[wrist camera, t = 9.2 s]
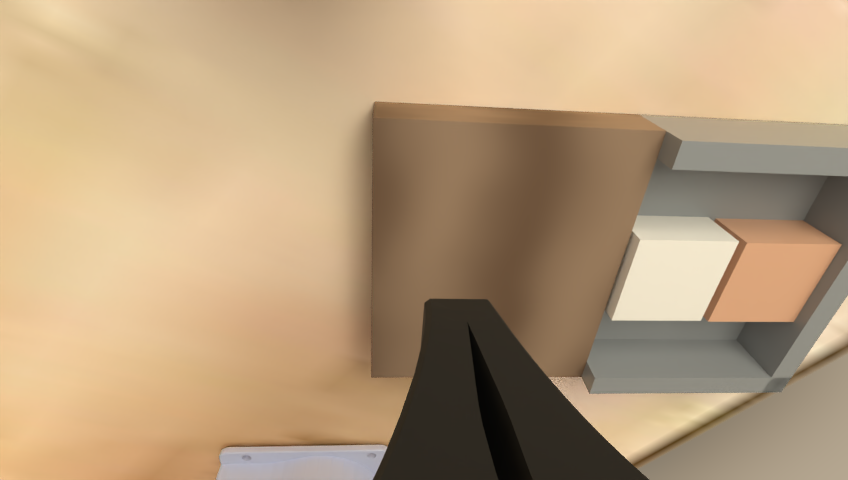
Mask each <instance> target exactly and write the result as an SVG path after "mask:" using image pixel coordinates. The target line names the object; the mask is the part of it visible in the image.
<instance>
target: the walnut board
mask: <svg viewBox="0 0 848 480" xmlns="http://www.w3.org/2000/svg"><path fill="white" fill-rule="evenodd" d="M665 134H666V130H664V129H662V128H661V127H659V126H657V125H656V124H654V123H652V122H651V121H649V120H647V119H646V118H644V117H642V116H641V115H635V114H614V113H594V112H573V111H553V110H533V109H512V108H492V107H471V106H451V105H430V104H410V103H389V102H375V105H374V113H373V196H372V349H371V377H413V376H414V373H415V369H416V365H417V361H418V357H419V353H420V349H421V337H422V325H423V313H424V303H425V302H426V301H427V300H429V299H488V300H489V301H490V303H491V304H492V305H493V306H494V308H495V309H496V311H497V312H498V313H499V315H500V316H501V318H502V319H503V320H504V322H505V323H506V324H507V326H508V327H509V329H510V330H511V331H512V333H513V334H514V335H515V337H516V338H517V339H518V341H519V342H520V343H521V344H522V346H523V347H524V348H525V350H526V351H527V352H528V353H529V355H530V356H531V357H532V358H533V360H534V361H535V362H536V363H537V364H538V366H539V367H540V368H541V369H542V371H543V372H544V373H545V374H546V375H547V377H582V374H583V371H584V368H585V365H586V363H587V360H588V357H589V354H590V351H591V348H592V345H593V342H594V339H595V337H596V334H597V331H598V328H599V325H600V322H601V319H602V316H603V313H604V311H605V308H606V305H607V302H608V299H609V296H610V293H611V290H612V287H613V285H614V282H615V279H616V276H617V273H618V270H619V267H620V264H621V261H622V259H623V256H624V253H625V250H626V247H627V244H628V241H629V238H630V235H631V233H632V230H633V227H634V224H635V221H636V218H637V215H638V212H639V209H640V206H641V204H642V201H643V198H644V195H645V192H646V189H647V186H648V183H649V180H650V178H651V175H652V172H653V169H654V166H655V163H656V160H657V157H658V154H659V152H660V149H661V146H662V143H663V140H664V137H665Z"/></svg>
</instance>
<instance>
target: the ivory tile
mask: <svg viewBox="0 0 848 480" xmlns="http://www.w3.org/2000/svg"><path fill="white" fill-rule="evenodd" d="M738 243H739V241H738V240H737V239H735V238H734V237H733V236H732V235H730V234H729V233H728V232H727V231H725V230H724V229H723V228H721V227H720V226H719V225H718V224H716V223H715V222H714V221H713V220H711V219H710V218H709V217H681V216H639V215H637V218H636V221H635V224H634V227H633V230H632V233H631V235H630V238H629V241H628V244H627V247H626V250H625V253H624V256H623V259H622V261H621V264H620V267H619V270H618V273H617V276H616V279H615V282H614V285H613V287H612V290H611V293H610V296H609V299H608V302H607V305H606V308H605V310H606V312H607V314H608V315H609V317H610V318H611V320H625V321H701V319H702V317H703V315H704V313H705V311H706V309H707V307H708V305H709V303H710V301H711V299H712V297H713V295H714V293H715V291H716V288H717V286H718V284H719V282H720V280H721V278H722V276H723V274H724V272H725V270H726V268H727V266H728V264H729V262H730V260H731V258H732V256H733V254H734V251H735V249H736V247H737V245H738Z"/></svg>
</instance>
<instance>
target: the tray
mask: <svg viewBox="0 0 848 480" xmlns="http://www.w3.org/2000/svg"><path fill="white" fill-rule="evenodd" d="M641 116H642V117H644V118H646V119H647V120H649V121H651V122H652V123H654V124H656V125H657V126H659V127H661V128H662V129H664V130H666V134H665V137H664V140H663V143H662V146H661V149H660V152H659V154H658V157H657V160H656V163H655V166H654V169H653V172H652V175H651V178H650V180H649V183H648V186H647V189H646V192H645V195H644V198H643V201H642V204H641V206H640V209H639V212H638V215H639V216H681V217H709V218H710V219H711V220H713V221H715V219H716V218H720V219H764V220H803V221H805V222H806V223H808V224H809V225H811V226H813V227H814V228H816V229H818V230H819V231H821V232H822V233H824V234H826V235H827V236H829V237H830V238H832V239H834V240H835V241H837V242H839V243H840V244H842V246H841V247H840V249H839V250H838V252H837V254H836V255H835V257H834V258H833V260H832V262H831V263H830V265H829V266H828V268H827V270H826V271H825V273H824V274H823V276H822V278H821V279H820V281H819V282H818V284H817V286H816V287H815V289H814V290H813V292H812V294H811V295H810V297H809V298H808V300H807V302H806V303H805V305H804V306H803V308H802V310H801V311H800V313H799V314H798V316H797V318H796V319H795V321H794V322H708V321H707V320H706V319H705V318H704V317H702V319H701V321H625V320H611V318H610V317H609V315H608V314H607V312H606V310H605V311H604V313H603V316H602V319H601V322H600V325H599V328H598V331H597V334H596V337H595V339H594V342H593V345H592V348H591V351H590V354H589V357H588V360H587V363H586V365H585V368H584V371H583V374H582V379H583V381H584V383H585V385H586V387H587V389H588V392H589V394H599V393H743V392H782V390H783V389H784V387H785V386H786V384H787V383H788V382H789V380H790V379H791V377H792V376H793V374H794V373H795V371H796V370H797V368H798V367H799V366H800V364H801V363H802V361H803V360H804V358H805V357H806V355H807V354H808V352H809V351H810V349H811V348H812V347H813V345H814V344H815V342H816V341H817V339H818V338H819V336H820V335H821V333H822V332H823V330H824V329H825V328H826V326H827V325H828V323H829V322H830V320H831V319H832V317H833V316H834V314H835V313H836V312H837V310H838V309H839V307H840V306H841V304H842V303H843V301H844V300H845V298H846V297H847V295H848V125H839V124H819V123H798V122H778V121H758V120H737V119H717V118H696V117H676V116H655V115H641Z"/></svg>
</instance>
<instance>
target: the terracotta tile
mask: <svg viewBox="0 0 848 480" xmlns="http://www.w3.org/2000/svg"><path fill="white" fill-rule="evenodd" d="M714 222H715V223H716V224H718V225H719V226H720V227H721V228H723V229H724V230H725V231H727V232H728V233H729V234H730V235H732V236H733V237H734V238H735V239H737V240H738V241H739V243H738V245H737V247H736V249H735V251H734V254H733V256H732V258H731V260H730V262H729V264H728V266H727V268H726V270H725V272H724V274H723V276H722V278H721V280H720V282H719V284H718V286H717V288H716V291H715V293H714V295H713V297H712V299H711V301H710V303H709V305H708V307H707V309H706V311H705V313H704V315H703V317H704V318H705V319H706V320H707V321H708V322H794V321H795V319H796V318H797V316H798V314H799V313H800V311H801V310H802V308H803V306H804V305H805V303H806V302H807V300H808V298H809V297H810V295H811V294H812V292H813V290H814V289H815V287H816V286H817V284H818V282H819V281H820V279H821V278H822V276H823V274H824V273H825V271H826V270H827V268H828V266H829V265H830V263H831V262H832V260H833V258H834V257H835V255H836V254H837V252H838V250H839V249H840V247H841V246H842V244H840V243H839V242H837V241H835V240H834V239H832V238H830V237H829V236H827V235H826V234H824V233H822V232H821V231H819V230H818V229H816V228H814V227H813V226H811V225H809V224H808V223H806V222H805V221H803V220H764V219H720V218H716V219H715V221H714Z"/></svg>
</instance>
